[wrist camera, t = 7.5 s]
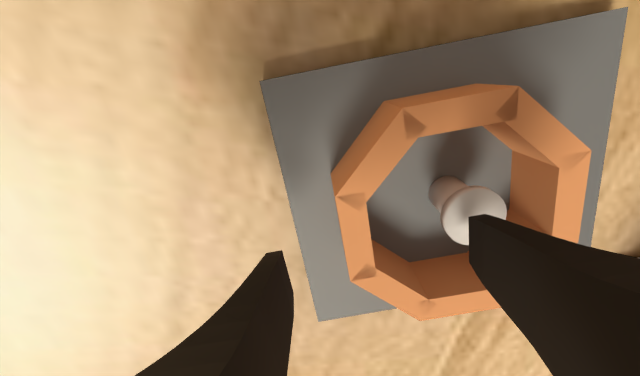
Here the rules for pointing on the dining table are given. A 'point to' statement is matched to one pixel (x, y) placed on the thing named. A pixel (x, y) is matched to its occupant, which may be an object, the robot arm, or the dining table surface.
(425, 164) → the hook board
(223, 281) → the dining table surface
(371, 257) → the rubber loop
